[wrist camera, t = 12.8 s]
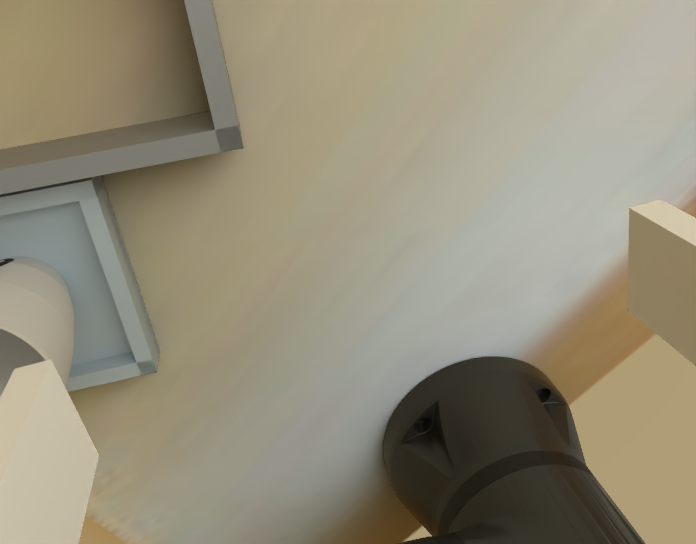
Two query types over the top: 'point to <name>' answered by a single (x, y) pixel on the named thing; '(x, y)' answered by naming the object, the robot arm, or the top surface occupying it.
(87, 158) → the holder
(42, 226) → the tray
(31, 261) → the cup
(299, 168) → the top surface
